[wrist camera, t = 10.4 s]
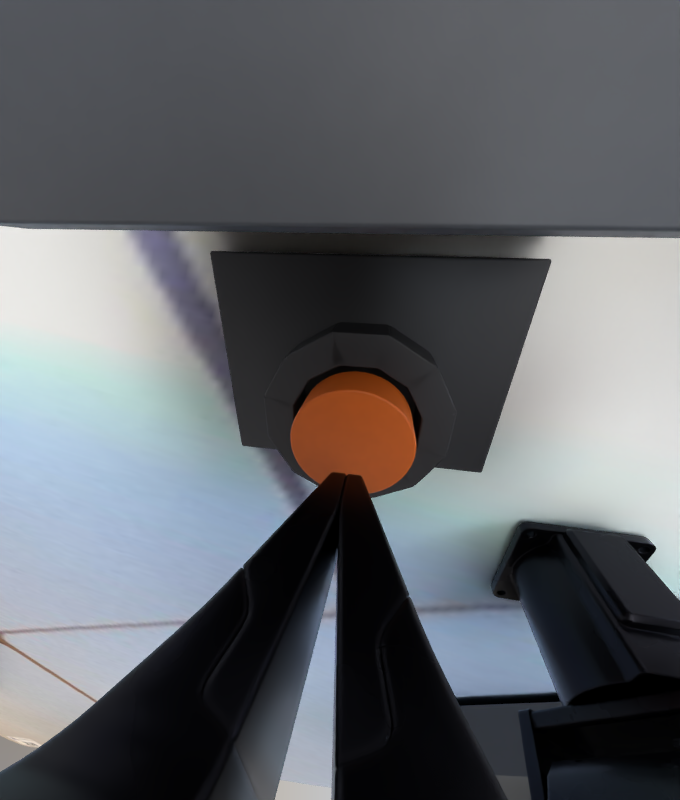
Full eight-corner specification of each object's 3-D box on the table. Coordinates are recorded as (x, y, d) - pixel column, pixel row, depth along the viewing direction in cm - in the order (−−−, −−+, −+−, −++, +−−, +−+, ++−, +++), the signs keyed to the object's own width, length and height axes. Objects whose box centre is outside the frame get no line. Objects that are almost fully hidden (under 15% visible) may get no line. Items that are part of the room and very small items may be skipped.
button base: (471, 467, 14) (491, 514, 12) (252, 443, 16) (225, 479, 13) (535, 259, 10) (590, 257, 7) (225, 252, 11) (176, 248, 9)
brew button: (404, 471, 12) (407, 502, 10) (304, 459, 12) (292, 487, 11) (420, 375, 10) (426, 396, 8) (300, 366, 10) (285, 384, 9)
